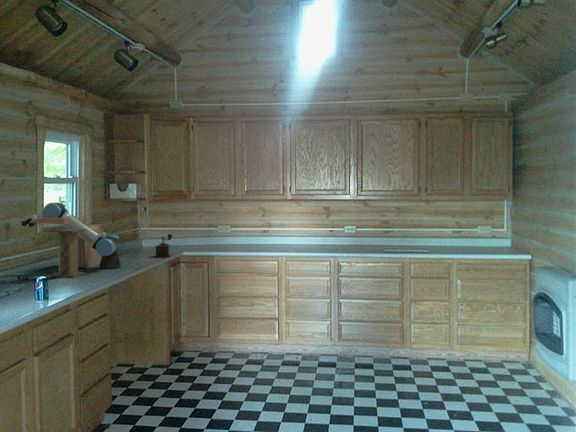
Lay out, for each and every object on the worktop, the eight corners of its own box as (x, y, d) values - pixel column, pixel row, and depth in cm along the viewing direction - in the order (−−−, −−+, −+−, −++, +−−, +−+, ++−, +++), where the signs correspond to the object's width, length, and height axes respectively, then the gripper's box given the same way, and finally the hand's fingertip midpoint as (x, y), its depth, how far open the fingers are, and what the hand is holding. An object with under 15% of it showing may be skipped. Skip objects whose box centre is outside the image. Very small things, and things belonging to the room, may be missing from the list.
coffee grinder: (169, 257, 470) (168, 235, 469) (155, 257, 470) (155, 235, 469) (173, 255, 485) (172, 233, 484) (160, 255, 486) (159, 233, 484)
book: (84, 268, 410) (84, 226, 408) (73, 268, 412) (72, 226, 410) (104, 263, 434) (103, 223, 433) (92, 263, 437) (92, 223, 435)
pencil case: (26, 222, 385) (26, 217, 384) (31, 222, 389) (31, 217, 389) (64, 224, 375) (64, 218, 375) (68, 223, 380) (68, 218, 379)
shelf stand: (51, 276, 376) (50, 230, 374) (65, 273, 388) (64, 228, 386) (73, 278, 370) (72, 231, 368) (86, 274, 383) (85, 229, 381)
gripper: (26, 236, 399) (50, 220, 392) (6, 239, 382) (31, 222, 375) (21, 227, 400) (45, 210, 393) (2, 229, 383) (26, 212, 376)
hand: (38, 216), depth 384 cm, fingers closed on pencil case, 4 cm apart
